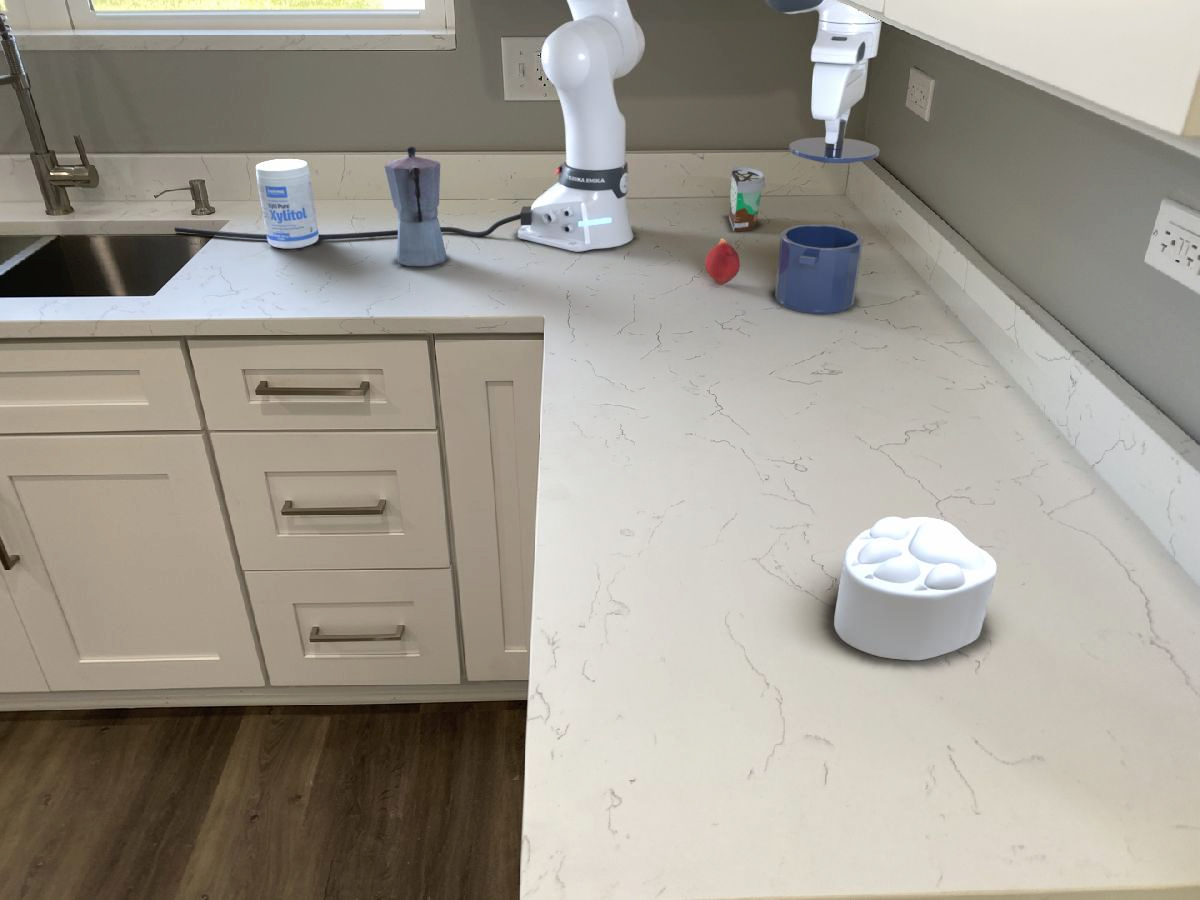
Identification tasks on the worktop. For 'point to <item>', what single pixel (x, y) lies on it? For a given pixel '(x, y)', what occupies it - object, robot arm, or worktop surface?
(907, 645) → the lumpy-topped squat cylinder
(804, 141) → the lid
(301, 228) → the supplement tub
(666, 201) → the worktop surface
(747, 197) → the food container
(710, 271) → the onion
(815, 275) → the pot
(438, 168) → the moka pot
